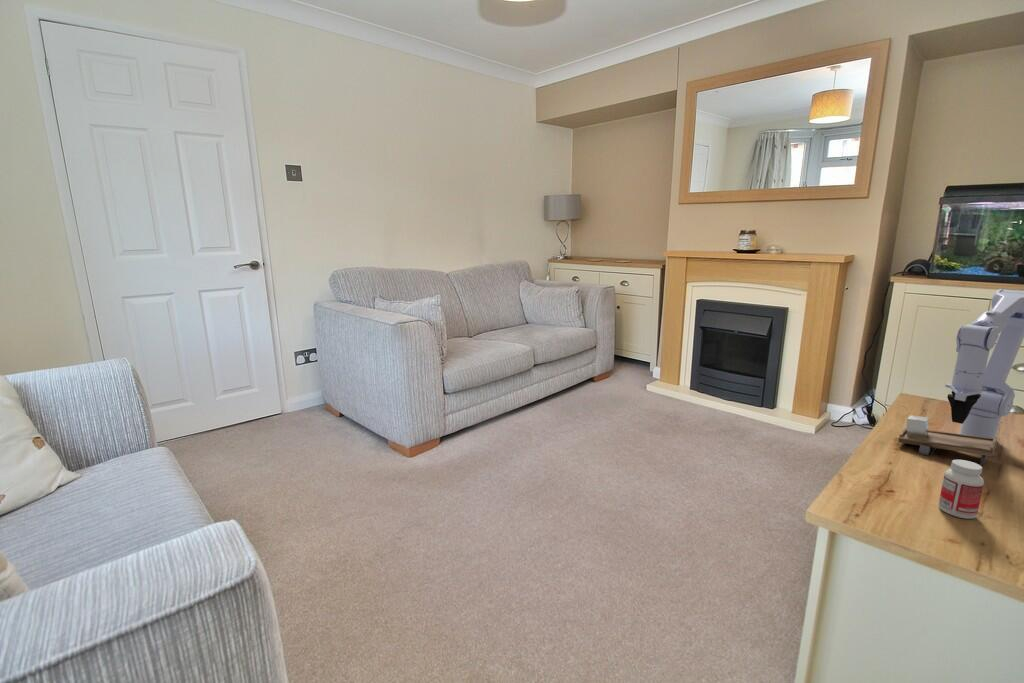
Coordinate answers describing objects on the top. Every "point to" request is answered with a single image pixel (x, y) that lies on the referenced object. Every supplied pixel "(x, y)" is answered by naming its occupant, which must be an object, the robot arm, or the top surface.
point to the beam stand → (930, 450)
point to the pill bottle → (962, 489)
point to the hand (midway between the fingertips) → (959, 420)
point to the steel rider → (917, 426)
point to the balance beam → (953, 442)
